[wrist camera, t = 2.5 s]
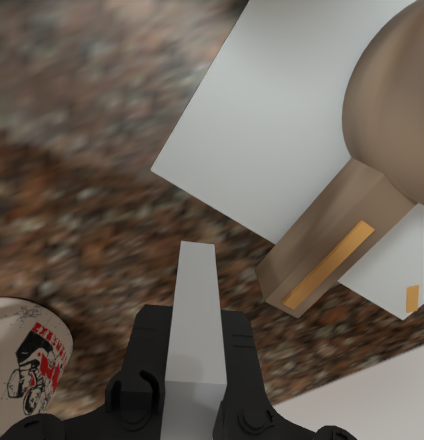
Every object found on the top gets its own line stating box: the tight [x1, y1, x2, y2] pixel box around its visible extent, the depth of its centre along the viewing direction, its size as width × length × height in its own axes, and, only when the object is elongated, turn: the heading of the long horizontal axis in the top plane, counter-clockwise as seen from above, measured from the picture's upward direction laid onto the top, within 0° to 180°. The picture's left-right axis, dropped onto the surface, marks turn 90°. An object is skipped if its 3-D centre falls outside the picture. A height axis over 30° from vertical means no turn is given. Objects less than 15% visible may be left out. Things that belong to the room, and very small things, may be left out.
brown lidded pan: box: [255, 0, 424, 318], centre depth 13 cm, size 18×9×5 cm, turn 146°
